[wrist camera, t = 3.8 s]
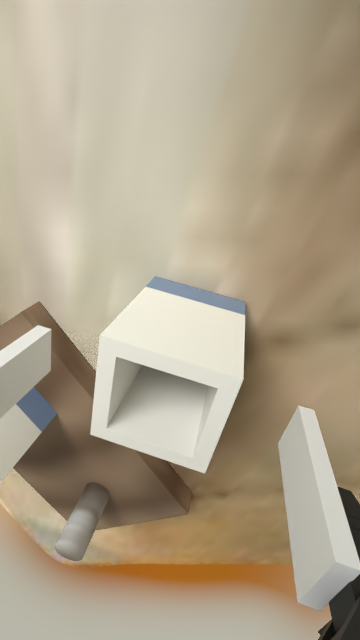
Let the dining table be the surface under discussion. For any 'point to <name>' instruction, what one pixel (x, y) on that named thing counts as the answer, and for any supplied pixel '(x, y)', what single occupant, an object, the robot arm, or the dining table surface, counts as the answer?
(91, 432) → the white sleeve
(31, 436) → the seated sleeve
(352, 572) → the robot arm
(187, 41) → the dining table surface
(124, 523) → the pin board
